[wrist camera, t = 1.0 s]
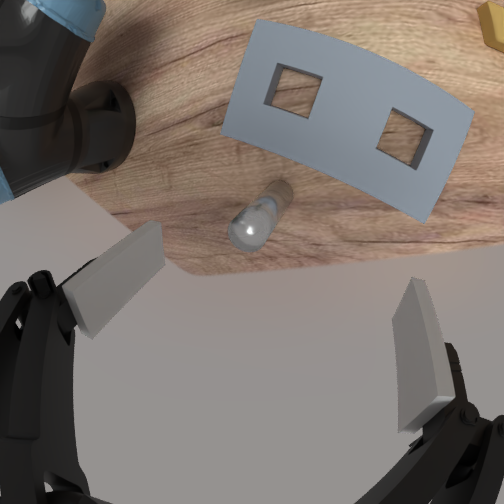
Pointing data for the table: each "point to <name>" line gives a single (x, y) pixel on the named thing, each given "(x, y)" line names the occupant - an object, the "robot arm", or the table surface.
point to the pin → (260, 217)
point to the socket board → (347, 115)
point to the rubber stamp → (492, 24)
